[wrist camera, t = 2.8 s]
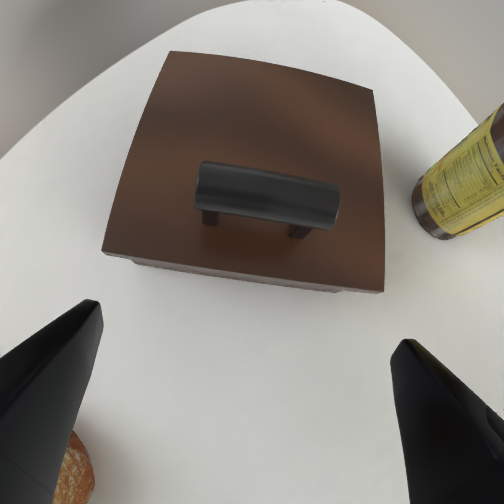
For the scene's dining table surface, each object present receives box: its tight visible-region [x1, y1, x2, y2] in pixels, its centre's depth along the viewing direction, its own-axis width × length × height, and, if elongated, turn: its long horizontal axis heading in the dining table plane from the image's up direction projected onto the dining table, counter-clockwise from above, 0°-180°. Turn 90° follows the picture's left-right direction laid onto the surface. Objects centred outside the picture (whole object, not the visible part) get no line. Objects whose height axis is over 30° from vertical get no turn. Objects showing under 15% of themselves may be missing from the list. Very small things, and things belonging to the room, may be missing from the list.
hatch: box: [101, 51, 385, 294], centre depth 14 cm, size 13×14×5 cm
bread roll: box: [52, 430, 95, 504], centre depth 13 cm, size 10×10×8 cm
